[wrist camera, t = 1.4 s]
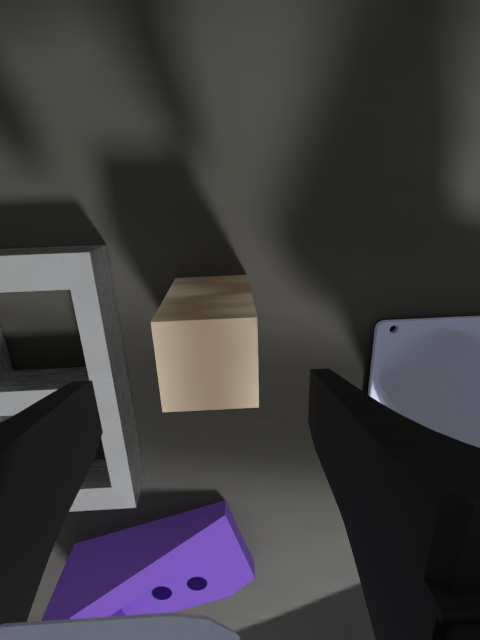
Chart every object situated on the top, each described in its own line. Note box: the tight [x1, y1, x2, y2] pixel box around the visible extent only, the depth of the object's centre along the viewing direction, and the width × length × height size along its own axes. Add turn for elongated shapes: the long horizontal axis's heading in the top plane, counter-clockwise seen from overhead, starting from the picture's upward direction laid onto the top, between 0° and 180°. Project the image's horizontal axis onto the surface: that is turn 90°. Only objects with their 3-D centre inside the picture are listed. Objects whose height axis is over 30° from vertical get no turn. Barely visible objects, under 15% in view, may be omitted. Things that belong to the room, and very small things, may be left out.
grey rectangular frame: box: [0, 244, 145, 512], centre depth 20 cm, size 8×16×2 cm, turn 2°
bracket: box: [41, 501, 255, 621], centre depth 24 cm, size 12×7×7 cm, turn 108°
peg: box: [151, 275, 259, 412], centre depth 17 cm, size 4×4×7 cm
